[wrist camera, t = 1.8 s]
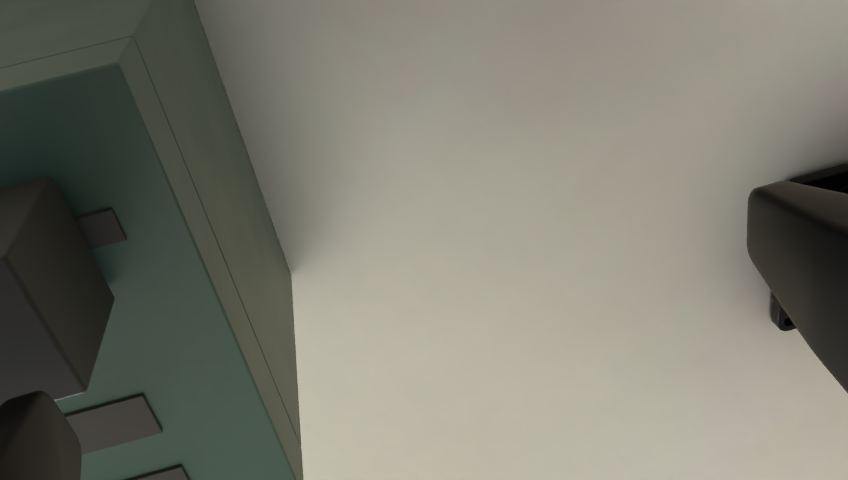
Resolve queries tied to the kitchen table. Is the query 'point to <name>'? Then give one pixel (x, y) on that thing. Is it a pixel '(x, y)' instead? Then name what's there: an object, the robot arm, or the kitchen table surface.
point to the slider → (47, 295)
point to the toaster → (157, 238)
